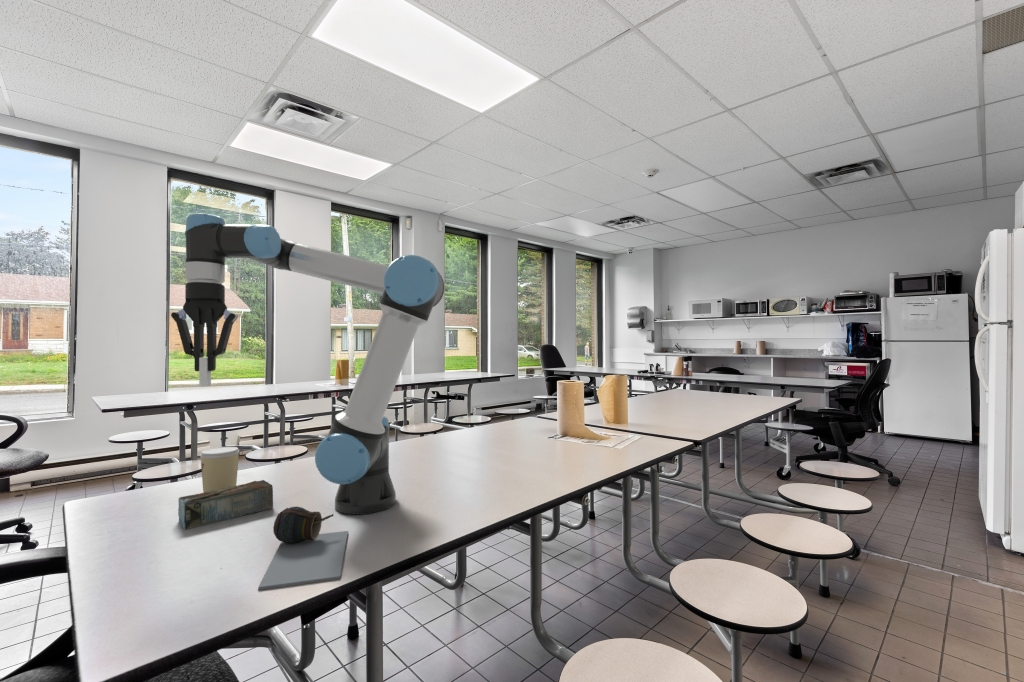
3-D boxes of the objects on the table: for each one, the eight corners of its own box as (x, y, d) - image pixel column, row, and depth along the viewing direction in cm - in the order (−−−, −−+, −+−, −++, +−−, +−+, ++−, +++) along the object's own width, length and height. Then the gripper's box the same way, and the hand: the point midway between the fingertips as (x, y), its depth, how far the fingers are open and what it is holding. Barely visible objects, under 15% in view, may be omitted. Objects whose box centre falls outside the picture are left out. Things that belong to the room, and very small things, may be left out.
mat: (347, 533, 100) (347, 530, 100) (339, 578, 80) (339, 576, 80) (283, 540, 96) (283, 537, 96) (258, 590, 77) (258, 587, 77)
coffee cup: (212, 487, 132) (212, 446, 133) (245, 486, 133) (245, 446, 133) (192, 498, 123) (192, 454, 123) (228, 497, 124) (228, 453, 124)
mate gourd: (266, 524, 90) (316, 526, 90) (284, 497, 97) (331, 498, 97) (273, 551, 93) (321, 552, 93) (290, 522, 100) (335, 524, 100)
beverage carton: (176, 521, 108) (177, 493, 108) (265, 501, 121) (265, 477, 121) (183, 531, 102) (183, 502, 102) (275, 509, 116) (275, 483, 116)
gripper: (242, 286, 110) (241, 383, 109) (179, 284, 106) (179, 385, 106) (232, 281, 102) (232, 386, 102) (164, 279, 99) (164, 387, 99)
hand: (205, 385), depth 104 cm, fingers closed
